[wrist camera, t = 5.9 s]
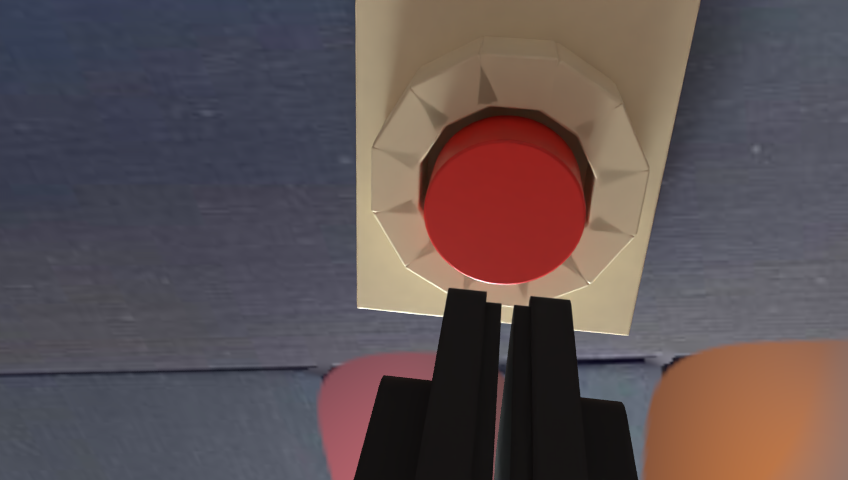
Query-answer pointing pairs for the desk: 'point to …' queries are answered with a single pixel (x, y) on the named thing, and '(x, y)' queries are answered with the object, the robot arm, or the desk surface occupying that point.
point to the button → (505, 201)
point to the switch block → (526, 97)
